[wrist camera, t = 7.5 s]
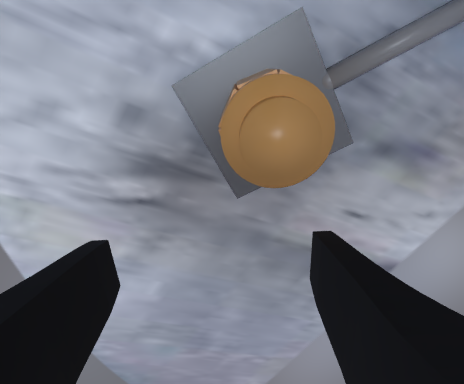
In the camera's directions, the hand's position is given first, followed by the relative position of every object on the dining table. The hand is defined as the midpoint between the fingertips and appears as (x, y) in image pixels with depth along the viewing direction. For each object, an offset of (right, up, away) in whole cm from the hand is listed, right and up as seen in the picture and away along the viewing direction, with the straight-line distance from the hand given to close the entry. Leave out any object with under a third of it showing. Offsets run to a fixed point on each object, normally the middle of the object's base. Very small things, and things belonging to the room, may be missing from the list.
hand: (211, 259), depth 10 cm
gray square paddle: (+7, +10, +6) cm, 14 cm away
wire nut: (+3, +7, +7) cm, 10 cm away
